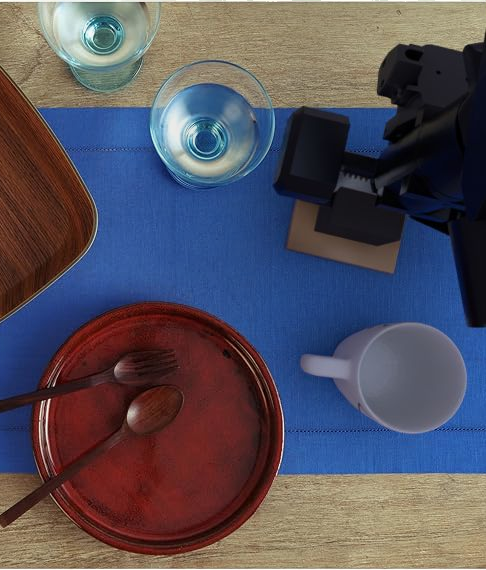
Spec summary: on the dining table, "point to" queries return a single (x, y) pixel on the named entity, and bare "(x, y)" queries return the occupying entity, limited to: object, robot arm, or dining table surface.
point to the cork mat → (336, 243)
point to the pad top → (362, 216)
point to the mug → (397, 375)
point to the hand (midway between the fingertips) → (365, 200)
